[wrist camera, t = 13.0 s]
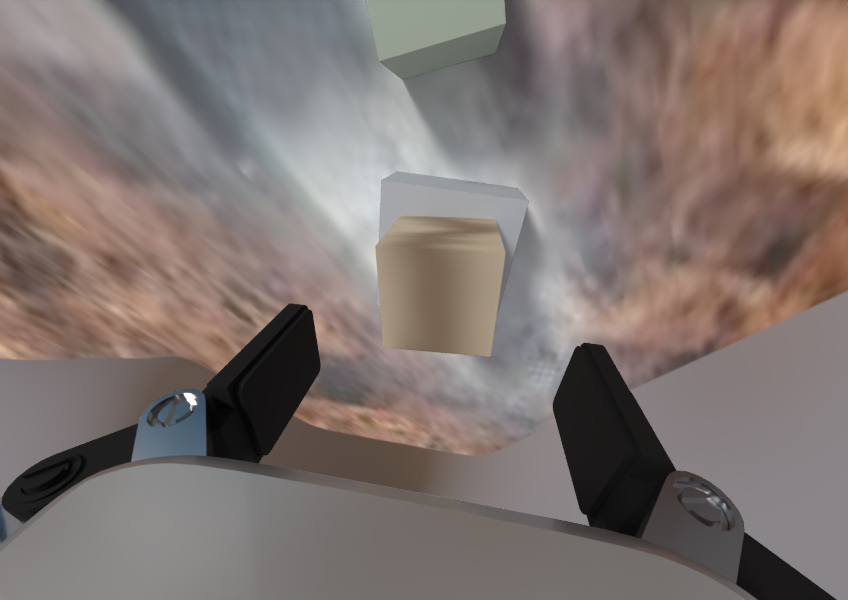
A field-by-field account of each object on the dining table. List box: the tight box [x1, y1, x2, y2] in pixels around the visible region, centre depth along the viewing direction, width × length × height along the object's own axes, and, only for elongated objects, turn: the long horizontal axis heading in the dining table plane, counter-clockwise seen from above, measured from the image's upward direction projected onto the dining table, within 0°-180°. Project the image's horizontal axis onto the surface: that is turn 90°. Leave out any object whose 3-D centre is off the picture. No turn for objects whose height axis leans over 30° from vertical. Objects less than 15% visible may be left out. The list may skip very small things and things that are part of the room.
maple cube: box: [376, 215, 506, 357], centre depth 18 cm, size 6×6×6 cm
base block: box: [377, 171, 529, 318], centre depth 23 cm, size 9×9×5 cm
